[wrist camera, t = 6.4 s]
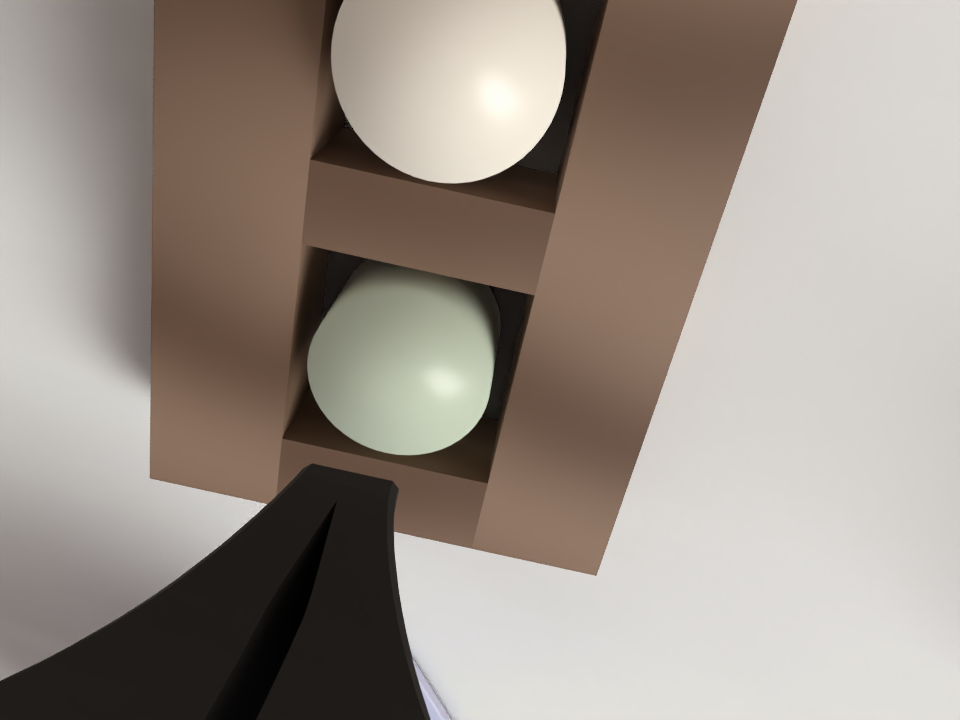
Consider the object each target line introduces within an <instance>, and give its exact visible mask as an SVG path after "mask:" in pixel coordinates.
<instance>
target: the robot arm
mask: <svg viewBox="0 0 960 720" xmlns="http://www.w3.org/2000/svg"><path fill="white" fill-rule="evenodd" d="M398 491H399V489H398V487H397V486H396V484H395V483H394V482H393V481H391V480H386V479H382V478H377V477H372V476H368V475H363V474H359V473H354V472H350V471H345V470H340V469H336V468H331V467H327V466H322V465H318V464H313V463H312V464H310V465H308V466H306V467H304V468H303V469H302V470H301V471H300V472H299V473H298V475H297V476H296V477H295V478H294V479H293V480H292V481H291V482H290V483H289V484H288V485H287V486H286V487H285V488H284V489H283V490H282V491H281V492H280V493H279V494H278V495H277V496H276V497H275V498H274V499H273V500H272V501H271V502H269V503H268V504H267V505H266V506H265V507H264V508H263V509H262V510H261V511H260V512H259V513H258V514H257V515H255V516H254V517H253V518H252V519H251V520H250V521H249V522H247V523H246V524H245V525H244V526H243V527H242V528H240V529H239V530H238V531H237V532H236V533H235V534H233V535H232V536H231V537H230V538H229V539H228V540H227V541H225V542H224V543H223V544H222V545H221V546H219V547H218V548H217V549H216V550H214V551H213V552H212V553H210V554H209V555H208V556H207V557H205V558H204V559H203V560H201V561H200V562H199V563H197V564H196V565H195V566H193V567H192V568H191V569H190V570H188V571H187V572H186V573H184V574H183V575H182V576H180V577H179V578H178V579H176V580H175V581H174V582H172V583H171V584H169V585H168V586H167V587H165V588H164V589H162V590H161V591H159V592H158V593H157V594H155V595H154V596H152V597H151V598H149V599H148V600H146V601H145V602H143V603H142V604H140V605H138V606H137V607H135V608H134V609H132V610H131V611H129V612H127V613H126V614H124V615H123V616H121V617H120V618H118V619H116V620H115V621H113V622H111V623H110V624H108V625H106V626H104V627H103V628H101V629H99V630H97V631H96V632H94V633H92V634H90V635H89V636H87V637H85V638H84V639H82V640H80V641H78V642H77V643H75V644H73V645H71V646H70V647H68V648H66V649H64V650H62V651H60V652H58V653H56V654H55V655H53V656H51V657H49V658H47V659H45V660H43V661H41V662H39V663H37V664H35V665H33V666H31V667H29V668H26V669H24V670H22V671H20V672H18V673H16V674H14V675H12V676H10V677H7V678H5V679H3V680H1V681H0V720H451V719H450V717H449V715H448V714H447V712H446V711H445V709H444V707H443V706H442V704H441V703H440V701H439V699H438V698H437V696H436V695H435V693H434V692H433V690H432V688H431V687H430V685H429V684H428V682H427V680H426V679H425V677H424V676H423V674H422V673H421V671H420V669H419V668H418V666H417V665H416V663H415V661H414V660H413V658H412V655H411V651H410V647H409V643H408V638H407V634H406V629H405V624H404V618H403V613H402V608H401V602H400V596H399V589H398V581H397V572H396V563H395V552H394V513H395V507H396V502H397V497H398Z"/></svg>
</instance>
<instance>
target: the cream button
mask: <svg viewBox="0 0 960 720" xmlns="http://www.w3.org/2000/svg"><path fill="white" fill-rule="evenodd" d="M566 42H567V37H566V25H565V20H564V15H563V11H562V8H561V5H560V2H559V0H344V1H343V3H342V5H341V7H340V10H339V12H338V16H337V19H336V22H335V26H334V31H333V37H332V45H331V65H332V75H333V80H334V85H335V90H336V93H337V96H338V99H339V102H340V105H341V107H342V109H343V111H344V113H345V115H346V118H347V119H348V121H349V123H350V124H351V126H352V127H353V129H354V131H355V132H356V133H357V135H358V136H359V137H360V138H361V140H362V141H363V142H364V143H365V144H366V145H367V146H368V147H369V148H370V149H371V150H372V151H373V152H374V153H375V154H376V155H377V156H378V157H380V158H381V159H382V160H384V161H385V162H386V163H388V164H389V165H391V166H393V167H394V168H396V169H398V170H400V171H402V172H404V173H406V174H409V175H411V176H413V177H416V178H420V179H423V180H427V181H432V182H439V183H465V182H472V181H477V180H481V179H485V178H487V177H490V176H493V175H495V174H498V173H500V172H502V171H503V170H505V169H507V168H509V167H511V166H512V165H514V164H515V163H516V162H518V161H519V160H520V159H522V158H523V157H524V156H525V155H526V154H527V153H528V152H529V151H531V150H532V149H533V148H534V146H535V145H536V144H537V143H538V142H539V140H540V139H541V138H542V137H543V135H544V134H545V132H546V130H547V129H548V127H549V125H550V124H551V122H552V120H553V118H554V115H555V113H556V111H557V109H558V105H559V102H560V99H561V96H562V92H563V86H564V80H565V65H566Z"/></svg>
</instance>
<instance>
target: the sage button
mask: <svg viewBox="0 0 960 720" xmlns="http://www.w3.org/2000/svg"><path fill="white" fill-rule="evenodd" d="M499 337H500V314H499V309H498V305H497V302H496V300H495V297H494V295H493V293H492V291H491V289H490V288H489V286H488V285H485V284H481V283H476V282H472V281H467V280H463V279H458V278H454V277H449V276H444V275H440V274H435V273H431V272H426V271H422V270H417V269H413V268H408V267H404V266H399V265H395V264H390V263H386V262H381V261H376V260H372V259H367V260H366V261H364V262H363V263H362V264H361V265H360V266H359V267H358V268H357V269H355V271H354V272H353V273H352V275H351V276H350V277H349V279H348V280H347V282H346V283H345V285H344V287H343V288H342V290H341V292H340V293H339V295H338V297H337V298H336V300H335V302H334V303H333V305H332V306H331V308H330V310H329V311H328V313H327V315H326V316H325V318H324V320H323V321H322V323H321V325H320V326H319V328H318V330H317V331H316V333H315V335H314V337H313V339H312V342H311V345H310V348H309V353H308V362H307V371H308V379H309V383H310V387H311V390H312V393H313V395H314V398H315V400H316V402H317V404H318V405H319V407H320V409H321V410H322V412H323V413H324V414H325V416H326V417H327V418H328V419H329V420H330V422H331V423H332V424H333V425H334V426H335V427H336V428H338V429H339V430H340V431H341V432H342V433H344V434H345V435H346V436H348V437H349V438H351V439H352V440H354V441H356V442H358V443H360V444H362V445H364V446H366V447H369V448H371V449H374V450H377V451H381V452H384V453H390V454H396V455H420V454H426V453H431V452H435V451H438V450H441V449H443V448H446V447H448V446H450V445H452V444H454V443H455V442H457V441H459V440H460V439H462V438H463V437H464V436H465V435H467V434H468V433H469V432H470V431H471V430H472V429H473V428H474V426H475V425H476V424H477V423H478V421H479V420H480V418H481V417H482V415H483V413H484V411H485V409H486V406H487V403H488V400H489V395H490V389H491V384H492V378H493V372H494V366H495V360H496V354H497V349H498V343H499Z"/></svg>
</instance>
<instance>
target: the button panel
mask: <svg viewBox="0 0 960 720" xmlns="http://www.w3.org/2000/svg"><path fill="white" fill-rule="evenodd" d="M343 1H344V0H154V90H153V199H152V308H151V417H150V478H151V479H156V480H160V481H165V482H169V483H174V484H179V485H183V486H188V487H192V488H197V489H201V490H206V491H211V492H215V493H220V494H224V495H229V496H234V497H238V498H243V499H247V500H252V501H256V502H261V503H266V504H268V503H269V502H271V501H272V500H273V499H274V498H275V497H276V496H277V495H278V494H279V493H280V492H281V491H282V490H283V489H284V488H285V487H286V486H287V485H288V484H289V483H290V482H291V481H292V480H293V479H294V478H295V477H296V476H297V475H298V473H299V472H300V471H301V470H302V469H303V468H304V467H306V466H308V465H310V464H312V463H313V464H318V465H322V466H327V467H331V468H336V469H340V470H345V471H350V472H354V473H359V474H363V475H368V476H372V477H377V478H382V479H386V480H391V481H393V482H394V483H395V484H396V486H397V487H398V489H399V491H398V497H397V502H396V507H395V513H394V532H398V533H403V534H408V535H412V536H417V537H421V538H426V539H431V540H435V541H440V542H444V543H449V544H453V545H458V546H463V547H467V548H472V549H476V550H481V551H485V552H490V553H495V554H499V555H504V556H508V557H513V558H518V559H522V560H527V561H531V562H536V563H540V564H545V565H550V566H554V567H559V568H563V569H568V570H573V571H577V572H582V573H586V574H591V575H595V576H596V575H597V572H598V569H599V567H600V564H601V561H602V558H603V555H604V552H605V549H606V547H607V544H608V541H609V538H610V535H611V532H612V529H613V527H614V524H615V521H616V518H617V515H618V512H619V509H620V507H621V504H622V501H623V498H624V495H625V492H626V489H627V486H628V484H629V481H630V478H631V475H632V472H633V469H634V466H635V464H636V461H637V458H638V455H639V452H640V449H641V446H642V444H643V441H644V438H645V435H646V432H647V429H648V426H649V424H650V421H651V418H652V415H653V412H654V409H655V406H656V403H657V401H658V398H659V395H660V392H661V389H662V386H663V383H664V381H665V378H666V375H667V372H668V369H669V366H670V363H671V361H672V358H673V355H674V352H675V349H676V346H677V343H678V341H679V338H680V335H681V332H682V329H683V326H684V323H685V320H686V318H687V315H688V312H689V309H690V306H691V303H692V300H693V298H694V295H695V292H696V289H697V286H698V283H699V280H700V278H701V275H702V272H703V269H704V266H705V263H706V260H707V258H708V255H709V252H710V249H711V246H712V243H713V240H714V237H715V235H716V232H717V229H718V226H719V223H720V220H721V217H722V215H723V212H724V209H725V206H726V203H727V200H728V197H729V195H730V192H731V189H732V186H733V183H734V180H735V177H736V175H737V172H738V169H739V166H740V163H741V160H742V157H743V154H744V152H745V149H746V146H747V143H748V140H749V137H750V134H751V132H752V129H753V126H754V123H755V120H756V117H757V114H758V112H759V109H760V106H761V103H762V100H763V97H764V94H765V92H766V89H767V86H768V83H769V80H770V77H771V74H772V71H773V69H774V66H775V63H776V60H777V57H778V54H779V51H780V49H781V46H782V43H783V40H784V37H785V34H786V31H787V29H788V26H789V23H790V20H791V17H792V14H793V11H794V9H795V6H796V3H797V0H600V3H599V7H598V11H597V15H596V19H595V23H594V27H593V32H592V36H591V40H590V44H589V48H588V52H587V56H586V60H585V64H584V68H583V72H582V76H581V81H580V85H579V89H578V93H577V97H576V101H575V105H574V109H573V113H572V117H571V121H570V125H569V129H568V134H567V138H566V142H565V146H564V150H563V154H562V158H561V162H560V166H559V170H558V174H557V175H556V174H551V173H547V172H542V171H538V170H533V169H529V168H524V167H520V166H515V165H512V166H511V167H509V168H507V169H505V170H503V171H502V172H500V173H498V174H495V175H493V176H490V177H487V178H485V179H481V180H477V181H472V182H465V183H439V182H432V181H427V180H423V179H420V178H416V177H413V176H411V175H409V174H406V173H404V172H402V171H400V170H398V169H396V168H394V167H393V166H391V165H389V164H388V163H386V162H385V161H384V160H382V159H381V158H380V157H378V156H377V155H376V154H375V153H374V152H373V151H372V150H371V149H370V148H369V147H368V146H367V145H366V144H365V143H364V142H363V141H362V140H361V138H360V137H359V136H358V135H357V133H356V132H355V131H354V130H353V129H348V128H344V121H345V113H344V111H343V109H342V107H341V105H340V102H339V99H338V96H337V93H336V90H335V85H334V80H333V75H332V65H331V45H332V37H333V31H334V26H335V22H336V19H337V16H338V12H339V10H340V7H341V5H342V3H343ZM329 250H331V251H336V252H340V253H345V254H349V255H354V256H358V257H363V258H367V259H372V260H376V261H381V262H386V263H390V264H395V265H399V266H404V267H408V268H413V269H417V270H422V271H426V272H431V273H435V274H440V275H444V276H449V277H454V278H458V279H463V280H467V281H472V282H476V283H481V284H485V285H490V286H494V287H499V288H503V289H508V290H512V291H517V292H522V293H526V294H528V297H527V301H526V305H525V309H524V313H523V317H522V321H521V325H520V329H519V334H518V338H517V342H516V346H515V350H514V354H513V358H512V362H511V366H510V370H509V374H508V378H507V383H506V387H505V391H504V395H503V399H502V403H501V407H500V411H499V415H498V419H497V420H493V419H488V418H484V417H481V418H480V420H479V421H478V423H477V424H476V425H475V426H474V428H473V429H472V430H471V431H470V432H469V433H468V434H467V435H465V436H464V437H463V438H462V439H460V440H459V441H457V442H455V443H454V444H452V445H450V446H448V447H446V448H443V449H441V450H438V451H435V452H431V453H426V454H420V455H396V454H390V453H384V452H381V451H377V450H374V449H371V448H369V447H366V446H364V445H362V444H360V443H358V442H356V441H354V440H352V439H351V438H349V437H348V436H346V435H345V434H344V433H342V432H341V431H340V430H339V429H338V428H336V427H335V426H334V425H333V424H332V423H331V422H330V420H329V419H328V418H327V417H326V416H325V414H324V413H323V412H322V410H321V409H320V407H319V405H318V404H317V402H316V400H315V398H314V395H313V393H312V390H311V387H310V383H309V379H308V371H307V362H308V353H309V348H310V345H311V342H312V339H313V337H314V335H315V333H316V331H317V330H318V328H319V326H320V325H321V317H322V309H323V300H324V291H325V283H326V274H327V266H328V257H329Z"/></svg>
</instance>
